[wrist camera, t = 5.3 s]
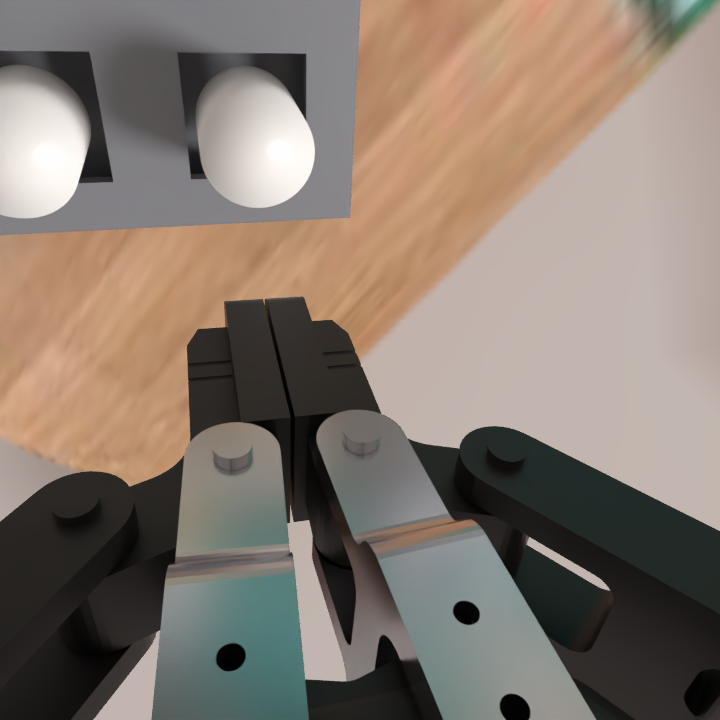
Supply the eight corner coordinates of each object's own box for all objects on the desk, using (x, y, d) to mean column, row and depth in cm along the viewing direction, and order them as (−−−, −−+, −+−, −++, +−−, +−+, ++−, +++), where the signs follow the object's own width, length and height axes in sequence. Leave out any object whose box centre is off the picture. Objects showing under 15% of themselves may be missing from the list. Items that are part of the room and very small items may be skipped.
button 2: (-44, 64, 21) (-80, 95, 18) (79, 64, 22) (65, 94, 19) (-11, 176, 23) (-37, 221, 20) (100, 173, 24) (90, 215, 21)
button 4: (190, 65, 22) (194, 94, 19) (296, 66, 23) (315, 93, 20) (200, 170, 25) (205, 210, 22) (296, 167, 26) (314, 205, 23)
